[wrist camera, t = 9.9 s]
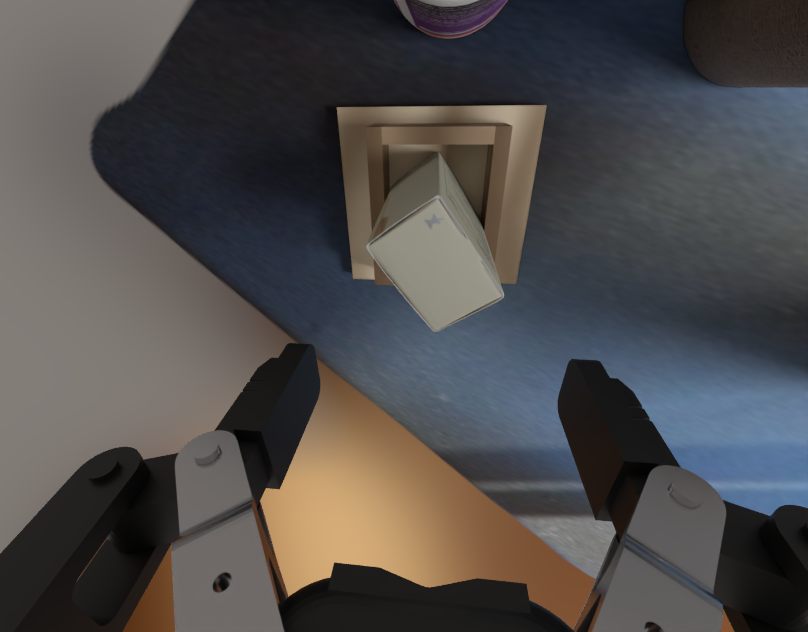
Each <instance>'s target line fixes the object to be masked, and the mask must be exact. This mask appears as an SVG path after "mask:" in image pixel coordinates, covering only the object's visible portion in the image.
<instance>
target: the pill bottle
mask: <svg viewBox="0 0 808 632" xmlns="http://www.w3.org/2000/svg"><path fill="white" fill-rule="evenodd" d="M507 1H508V0H394V2H395V4H396V5H397V7H398V8H399V10H400V11H401V13H402V14H403V15H404V16H405V17H406V19H407V20H408V21H409V22H410V23H411V24H412V25H414V26H415V27H416V28H418V29H419V30H421V31H422V32H424V33H426V34H428V35H431V36H434V37H438V38H449V39H450V38H458V37H463V36H466V35H468V34H471V33H473V32H475V31H477V30H479V29H480V28H482V27H483V26H485V25H486V24H487V23H488V22H490V21H491V20H492V19H493V18H494V17H495V16H496V15H497V14H498V13H499V11H500V10H501V9H502V8H503V6H504V5H505V4H506V3H507Z"/></svg>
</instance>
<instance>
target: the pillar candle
mask: <svg viewBox="0 0 808 632" xmlns="http://www.w3.org/2000/svg"><path fill="white" fill-rule="evenodd" d="M683 30H684V41H685V46H686V50H687V52H688V56H689V57H690V60H691V62H692V64H693V66H694V67H695V68H696V70H697V71H698V72H699V73H700V74H701V75H702V76H704V77H705V78H706V79H707V80H709V81H712V82H714V83H716V84H719V85H722V86H727V87H737V88H742V87H808V0H687V1H686V6H685V14H684V29H683Z"/></svg>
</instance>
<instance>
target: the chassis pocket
mask: <svg viewBox="0 0 808 632" xmlns="http://www.w3.org/2000/svg"><path fill="white" fill-rule="evenodd" d="M546 106H547V105H483V106H388V107H337V115H338V125H339V136H340V146H341V157H342V167H343V178H344V188H345V199H346V209H347V220H348V230H349V241H350V252H351V262H352V273H353V279H375V285H393V283H392V282H391V281H390V280H389V278H388V277H387V276H386V274H385V273H384V272H383V271H382V269H381V268H380V267H379V265H378V264H377V263H376V261H375V260H374V259H373V257H372V256H371V254H370V253H369V251H368V250H367V248H366V244H367V242H368V240H369V237H370V235H371V233H372V231H373V228H374V226H375V224H376V221H377V219H378V216H379V214H380V212H381V210H382V207H383V205H384V203H385V201H386V199H387V196H388V194H389V192H390V189H391V187H392V185H393V184H394V183H395V182H396V181H398V180H399V179H400V178H401V177H403V176H404V175H405V174H406V173H408V172H409V171H410V170H412V169H413V168H415V167H416V166H417V165H419V164H420V163H422V162H423V161H424V160H426V159H427V158H429V157H430V156H432V155H433V154H435V153H436V152H439V153H440V154H441V156H442V157H443V159H444V160H445V162H446V163H447V165H448V166H449V168H450V169H451V171H452V172H453V174H454V176H455V177H456V179H457V180H458V182H459V184H460V185H461V187H462V188H463V190H464V192H465V193H466V195H467V197H468V198H469V200H470V202H471V203H472V205H473V207H474V208H475V210H476V212H477V214H478V216H479V217H480V220H481V223H482V227H483V230H484V233H485V236H486V239H487V242H488V245H489V248H490V251H491V254H492V258H493V261H494V264H495V267H496V270H497V273H498V276H499V279H500V283H503V284H516V282H517V276H518V270H519V264H520V258H521V252H522V247H523V241H524V235H525V229H526V223H527V217H528V211H529V206H530V200H531V194H532V188H533V182H534V176H535V170H536V165H537V159H538V153H539V147H540V141H541V135H542V129H543V124H544V118H545V112H546Z"/></svg>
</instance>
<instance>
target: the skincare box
mask: <svg viewBox="0 0 808 632" xmlns="http://www.w3.org/2000/svg"><path fill="white" fill-rule="evenodd" d="M366 248H367V250H368V251H369V253H370V254H371V256H372V257H373V259H374V260H375V261H376V263H377V264H378V265H379V267H380V268H381V269H382V271H383V272H384V273H385V274H386V276H387V277H388V278H389V280H390V281H391V282H392V283H393V285H394V286H395V287H396V288H397V290H398V291H399V292H400V293H401V294H402V296H403V297H404V298H405V299H406V300H407V302H408V303H409V304H410V305H411V306H412V308H413V309H414V310H415V311H416V312H417V314H418V315H419V316H420V317H421V318H422V319H423V321H424V322H425V323H426V324H427V325H428V326H429V327H430V328H431V330H432V331H433V332H437V331H439V330H441V329H443V328H445V327H447V326H450V325H452V324H454V323H456V322H458V321H460V320H462V319H465V318H466V317H468V316H470V315H472V314H474V313H476V312H479V311H481V310H483V309H485V308H487V307H488V306H490V305H492V304H494V303H496V302H498V301H500V300H502V299H503V298H504V292H503V289H502V286H501V283H500V279H499V276H498V273H497V270H496V267H495V264H494V261H493V258H492V254H491V251H490V248H489V245H488V242H487V239H486V236H485V233H484V230H483V227H482V223H481V220H480V217H479V216H478V214H477V212H476V210H475V208H474V207H473V205H472V203H471V202H470V200H469V198H468V197H467V195H466V193H465V192H464V190H463V188H462V187H461V185H460V184H459V182H458V180H457V179H456V177H455V176H454V174H453V172H452V171H451V169H450V168H449V166H448V165H447V163H446V162H445V160H444V159H443V157H442V156H441V154H440V153H439V152H436V153H435V154H433V155H432V156H430V157H429V158H427V159H426V160H424V161H423V162H422V163H420V164H419V165H417V166H416V167H415V168H413V169H412V170H410V171H409V172H408V173H406V174H405V175H404V176H403V177H401V178H400V179H399V180H398V181H396V182H395V183H394V184H393V185H392V187H391V189H390V192H389V194H388V196H387V199H386V201H385V203H384V205H383V207H382V210H381V212H380V214H379V216H378V219H377V221H376V224H375V226H374V228H373V231H372V233H371V235H370V237H369V240H368V242H367V244H366Z"/></svg>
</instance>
